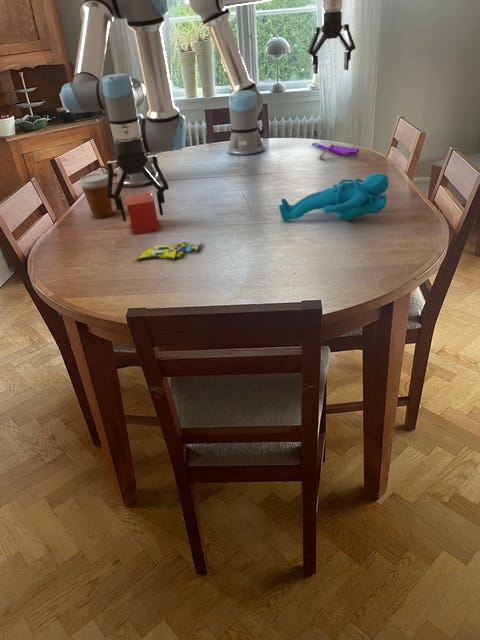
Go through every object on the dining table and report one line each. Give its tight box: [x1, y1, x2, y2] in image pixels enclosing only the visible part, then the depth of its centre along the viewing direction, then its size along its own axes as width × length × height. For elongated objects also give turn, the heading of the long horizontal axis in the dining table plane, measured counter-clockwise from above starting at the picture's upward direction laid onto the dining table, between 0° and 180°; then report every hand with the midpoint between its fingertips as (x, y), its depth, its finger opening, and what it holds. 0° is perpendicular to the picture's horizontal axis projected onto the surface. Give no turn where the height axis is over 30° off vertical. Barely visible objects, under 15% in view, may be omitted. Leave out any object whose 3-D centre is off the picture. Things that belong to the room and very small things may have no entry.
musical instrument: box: [311, 142, 360, 160], centre depth 196 cm, size 24×2×20 cm
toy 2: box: [278, 172, 389, 222], centre depth 135 cm, size 17×11×30 cm
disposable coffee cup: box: [79, 172, 114, 219], centre depth 152 cm, size 10×10×12 cm
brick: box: [125, 192, 160, 235], centre depth 141 cm, size 8×8×9 cm
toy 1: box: [137, 241, 202, 262], centre depth 126 cm, size 10×1×15 cm
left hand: (143, 216), depth 142 cm, fingers open, 10 cm apart
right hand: (330, 71), depth 200 cm, fingers open, 13 cm apart
